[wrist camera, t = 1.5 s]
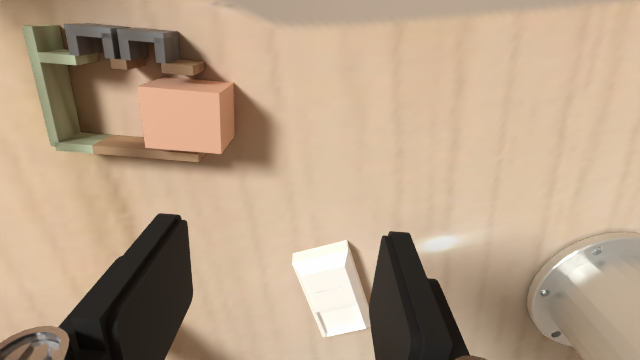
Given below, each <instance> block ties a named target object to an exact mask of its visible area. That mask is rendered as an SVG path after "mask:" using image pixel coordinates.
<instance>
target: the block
mask: <svg viewBox="0 0 640 360" xmlns="http://www.w3.org/2000/svg"><path fill="white" fill-rule="evenodd" d="M138 94H139V102H140V110H141V118H142V125H143V133H144V141H145V148H154V149H166V150H179V151H191V152H203V153H215V154H222V152H223V151H224V150H225V148H226V147H227V146H228V144H229V143H230V142H231V140H232V139H233V138H234V136H235V128H234V83H230V82H219V81H208V80H196V79H185V78H173V77H161V78H159V79H156V80H153V81H151V82H148V83H145V84H143V85H140V86H138Z"/></svg>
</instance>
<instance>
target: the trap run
mask: <svg viewBox="0 0 640 360" xmlns="http://www.w3.org/2000/svg"><path fill="white" fill-rule="evenodd" d="M64 28H65V33H66V38H67V43H68V48H69V49H64V46H63V41H62V36H61V31H60V26H59V25H23V26H22V29H23V33H24V37H25V41H26V45H27V49H28V54H29V58H30V62H31V66H32V70H33V74H34V78H35V82H36V87H37V91H38V95H39V99H40V103H41V107H42V111H43V115H44V120H45V124H46V128H47V132H48V136H49V140H50V144H51V146H55V147H56V151H68V152H81V153H93V154H105V155H117V156H129V157H142V158H154V159H166V160H178V161H190V162H199V161H200V160H201V159H202V158H203V156H204V155H205V154H206V153H203V152H191V151H179V150H166V149H154V148H145V141H144V137H132V136H120V135H108V134H96V133H84V132H81V130H80V125H79V120H78V115H77V111H76V106H75V101H74V96H73V91H72V86H71V81H70V76H69V71H68V66H67V65H81V64H86V63H91V62H97V61H99V57H98V53H101V52H102V49H101V43H100V38H102V42H103V48H104V54H105V58H108V59H110V62H111V68H112V69H123V70H129V69H132V68H136V67H140V66H143V65H145V60H144V57H148V48H147V42H154V47H155V57H156V63H161V69H162V73H169V74H180V75H192V76H193V75H196V74H198V73H200V72H202V71H205V61H194V60H183V59H180V50H179V37H178V31H167V30H156V29H145V28H130V27H123V26H112V25H101V24H90V23H84V24H64Z"/></svg>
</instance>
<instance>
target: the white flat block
mask: <svg viewBox="0 0 640 360" xmlns="http://www.w3.org/2000/svg"><path fill="white" fill-rule="evenodd" d="M292 265H293V267H294V269H295V272H296V274H297V277H298V279H299V281H300V284H301V286H302V289H303V291H304V293H305V296H306V298H307V301H308V303H309V305H310V308H311V310H312V313H313V315H314V317H315V320H316V322H317V324H318V327H319V329H320V332H321V334H322V336H323V337H328V336H333V335H337V334H342V333H347V332H352V331H357V330H361V329H366V328H370V327H371V325H370V318H369V305H368V302H367V299H366V296H365V293H364V290H363V287H362V284H361V281H360V278H359V275H358V272H357V269H356V266H355V263H354V260H353V257H352V254H351V251H350V248H349V245H348V241H347V240H345V241H341V242H337V243H333V244H329V245H325V246H321V247H317V248H313V249H309V250H305V251H301V252H297V253H293V260H292Z"/></svg>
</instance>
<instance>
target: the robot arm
mask: <svg viewBox="0 0 640 360" xmlns="http://www.w3.org/2000/svg"><path fill="white" fill-rule="evenodd" d="M192 297H193V285H192V273H191V261H190V249H189V237H188V225H187V221H186V220H182V219H181V216H180V215H174V214H161V213H160V214H158V215H157V216H156V217H155V218H154V219H153V221H152V222H151V223H150V224H149V225H148V226H147V228H146V229H145V230H144V231H143V232H142V234H141V235H140V236H139V237H138V238H137V239H136V241H135V242H134V243H133V244H132V245H131V247H130V248H129V249H128V250H127V251H126V252H125V254H124V255H123V256H121V257H119V258H118V259H117V260H115V262H114V263H113V264H112V265H111V266H110V267H109V269H108V270H107V271H106V272H105V273H104V274H103V276H102V277H101V278H100V279H99V280H98V281H97V283H96V284H95V285H94V286H93V287H92V288H91V290H90V291H89V292H88V293H87V294H86V295H85V297H84V298H83V299H82V300H81V301H80V302H79V304H78V305H77V306H76V307H75V308H74V309H73V311H72V312H71V313H70V314H69V315H68V316H67V318H66V319H65V320H64V321H63V322H62V323H61V325H60V326H59V327H53V326H43V327H36V328H32V329H28V330H24V331H22V332H20V333H17V334H15V335H13V336H11V337H9V338H7V339H6V340H4V341H3V342H1V343H0V360H165V358H166V355H167V353H168V351H169V349H170V347H171V345H172V343H173V340H174V338H175V336H176V334H177V332H178V330H179V328H180V325H181V323H182V321H183V319H184V317H185V315H186V313H187V310H188V308H189V306H190V304H191V301H192ZM527 308H528V312H529V315H530V317H531V319H532V320H533V322H534V324H535V325H536V327H537V328H538V329H539V330H540V331H541V333H542V334H543V335H545V336H546V337H547V338H549V339H550V340H553V341H555V342H557V343H560V344H563V345H568V346H572V347H574V348H575V350H576V351H577V352H578V354H579V355H580V356H581V358H582V359H583V360H640V234H638V233H630V232H614V233H605V234H601V235H596V236H592V237H589V238H586V239H584V240H581V241H578V242H576V243H574V244H572V245H571V246H569V247H567V248H565V249H563V250H562V251H560V252H559V253H558V254H556V255H555V256H554V257H552V258H551V259H550V260H549V261H548V262H547V263H546V264H545V265H544V266H543V267H542V268H541V269H540V271H539V272H538V273H537V275H536V276H535V278H534V280H533V282H532V284H531V286H530V288H529V292H528V296H527ZM369 318H370V325H371V332H372V339H373V345H374V352H375V359H376V360H486V359H484V358H481V357H476V356H470V354H469V352H468V350H467V347H466V345H465V343H464V340H463V338H462V336H461V333H460V331H459V329H458V326H457V324H456V322H455V319H454V317H453V315H452V312H451V310H450V308H449V305H448V303H447V301H446V298H445V296H444V294H443V291H442V289H441V287H440V284H439V283H438V281H437V280H436V279H428V278H427V276H426V274H425V271H424V269H423V266H422V264H421V261H420V259H419V256H418V253H417V251H416V248H415V246H414V243H413V241H412V238H411V236H410V234H409V233H405V232H392V231H390V232H389V234H388V236H382V239H381V244H380V250H379V255H378V260H377V266H376V271H375V277H374V282H373V287H372V293H371V298H370V304H369Z"/></svg>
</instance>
